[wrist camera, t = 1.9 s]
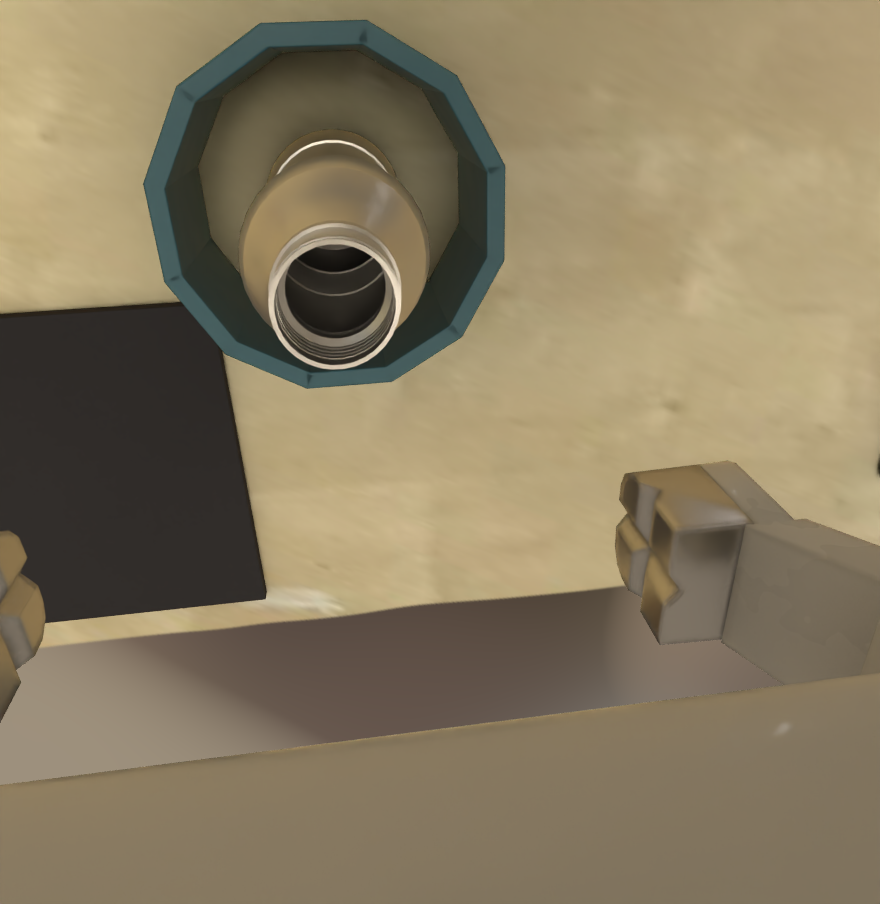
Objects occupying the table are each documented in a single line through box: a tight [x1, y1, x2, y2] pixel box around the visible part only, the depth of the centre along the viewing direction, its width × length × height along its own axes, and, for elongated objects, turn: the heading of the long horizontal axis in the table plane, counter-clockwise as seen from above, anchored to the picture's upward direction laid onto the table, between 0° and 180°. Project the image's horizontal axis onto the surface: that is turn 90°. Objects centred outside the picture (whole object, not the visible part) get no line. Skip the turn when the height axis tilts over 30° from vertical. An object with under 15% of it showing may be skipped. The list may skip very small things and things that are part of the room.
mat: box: [0, 302, 267, 623], centre depth 42 cm, size 20×16×1 cm
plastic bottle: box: [238, 129, 430, 369], centre depth 28 cm, size 6×7×20 cm
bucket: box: [143, 20, 505, 389], centre depth 33 cm, size 15×15×8 cm
